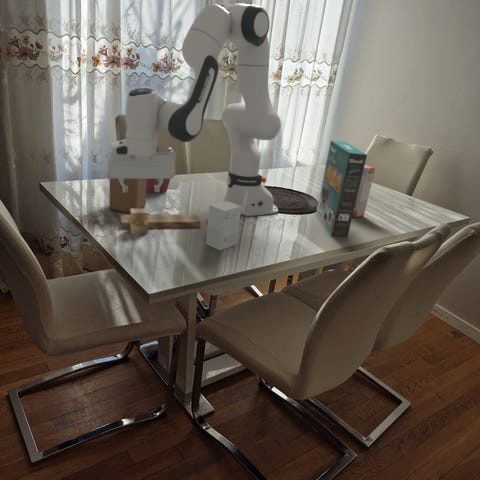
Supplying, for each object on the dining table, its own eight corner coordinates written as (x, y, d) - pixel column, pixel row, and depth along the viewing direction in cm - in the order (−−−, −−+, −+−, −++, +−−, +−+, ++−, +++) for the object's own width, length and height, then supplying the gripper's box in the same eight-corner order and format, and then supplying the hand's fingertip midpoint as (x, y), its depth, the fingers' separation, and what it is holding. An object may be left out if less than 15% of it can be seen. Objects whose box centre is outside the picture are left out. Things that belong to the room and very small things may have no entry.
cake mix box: (347, 237, 152) (367, 154, 141) (331, 236, 152) (349, 152, 140) (330, 216, 172) (346, 142, 161) (315, 215, 171) (330, 140, 160)
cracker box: (364, 216, 178) (376, 167, 170) (355, 218, 174) (367, 168, 166) (338, 205, 187) (348, 158, 179) (329, 207, 184) (339, 159, 176)
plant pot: (170, 196, 171) (172, 165, 166) (135, 192, 171) (136, 160, 166) (175, 186, 184) (177, 157, 179) (143, 182, 184) (144, 153, 179)
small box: (222, 238, 138) (226, 200, 133) (237, 244, 135) (242, 206, 130) (205, 244, 132) (208, 204, 127) (220, 251, 129) (224, 210, 124)
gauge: (143, 223, 142) (144, 203, 139) (147, 233, 134) (148, 213, 132) (128, 223, 140) (128, 203, 137) (131, 234, 132) (132, 213, 130)
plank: (195, 219, 151) (195, 214, 150) (200, 227, 145) (201, 221, 144) (119, 220, 141) (119, 214, 141) (121, 228, 135) (121, 222, 135)
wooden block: (135, 214, 148) (136, 158, 140) (108, 209, 149) (108, 153, 141) (146, 206, 157) (148, 152, 149) (121, 201, 158) (121, 148, 150)
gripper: (174, 145, 131) (172, 188, 137) (104, 143, 124) (106, 188, 130) (178, 150, 126) (176, 194, 131) (106, 148, 119) (107, 195, 124)
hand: (141, 191), depth 130 cm, fingers open, 8 cm apart
